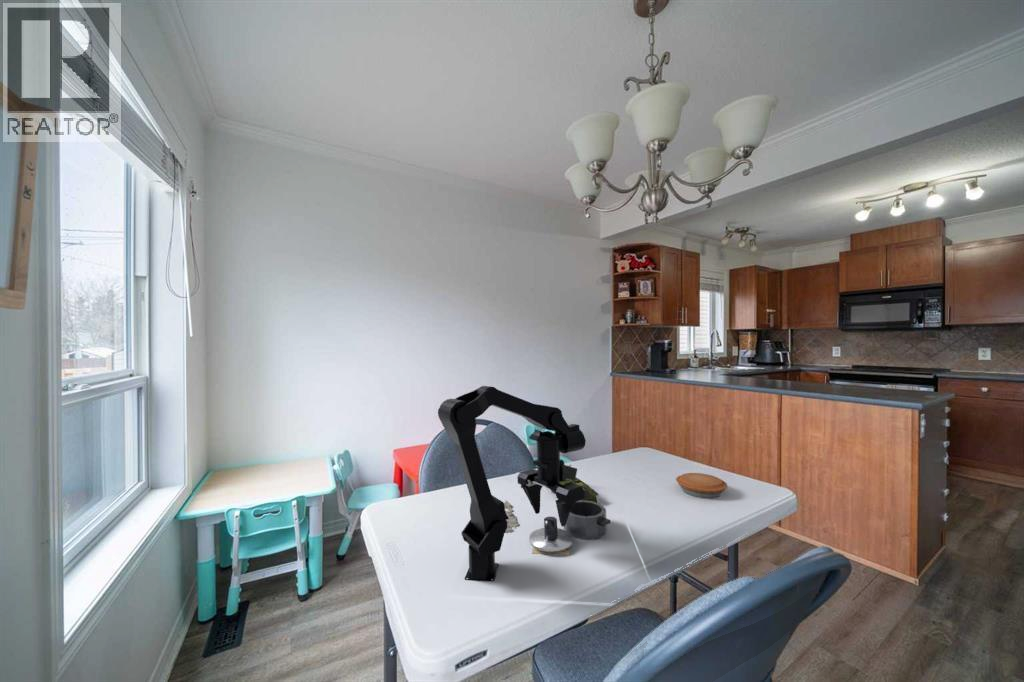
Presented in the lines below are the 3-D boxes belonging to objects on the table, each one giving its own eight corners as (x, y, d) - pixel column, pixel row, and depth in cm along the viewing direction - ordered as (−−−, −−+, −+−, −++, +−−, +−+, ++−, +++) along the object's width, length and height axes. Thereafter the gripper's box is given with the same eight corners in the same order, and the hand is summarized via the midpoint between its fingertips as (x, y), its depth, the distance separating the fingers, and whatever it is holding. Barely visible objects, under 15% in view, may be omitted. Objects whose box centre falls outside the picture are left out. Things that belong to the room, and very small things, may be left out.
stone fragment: (496, 543, 96) (531, 535, 99) (495, 532, 96) (531, 525, 99) (475, 504, 120) (504, 499, 123) (475, 495, 120) (504, 491, 123)
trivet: (570, 557, 86) (570, 554, 86) (532, 555, 87) (532, 553, 87) (568, 538, 95) (568, 535, 95) (534, 537, 96) (534, 534, 96)
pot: (620, 534, 97) (619, 511, 97) (593, 549, 90) (592, 524, 90) (578, 516, 108) (577, 495, 108) (551, 528, 101) (551, 506, 101)
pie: (669, 484, 132) (668, 470, 132) (713, 483, 131) (712, 469, 131) (688, 502, 116) (687, 486, 116) (737, 501, 116) (737, 485, 116)
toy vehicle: (570, 485, 134) (569, 457, 134) (601, 506, 115) (600, 474, 115) (547, 489, 130) (546, 461, 131) (574, 511, 112) (573, 478, 112)
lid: (574, 557, 85) (573, 530, 86) (527, 555, 87) (527, 529, 87) (572, 534, 96) (571, 510, 96) (531, 533, 97) (530, 509, 98)
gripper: (598, 457, 90) (600, 522, 89) (546, 444, 104) (547, 499, 104) (567, 467, 83) (569, 537, 82) (515, 451, 98) (516, 510, 97)
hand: (550, 519), depth 92 cm, fingers open, 9 cm apart
